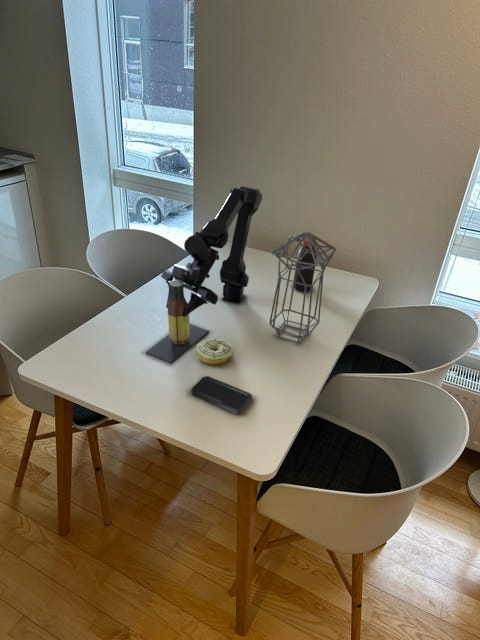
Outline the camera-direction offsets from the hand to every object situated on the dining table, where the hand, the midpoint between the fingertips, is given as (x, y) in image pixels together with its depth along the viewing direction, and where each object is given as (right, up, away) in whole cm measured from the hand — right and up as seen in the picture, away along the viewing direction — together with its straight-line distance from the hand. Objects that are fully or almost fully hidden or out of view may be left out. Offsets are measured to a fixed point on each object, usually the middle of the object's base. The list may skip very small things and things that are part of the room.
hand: (175, 312), depth 139 cm
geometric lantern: (+36, -7, +14) cm, 39 cm away
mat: (0, -9, +7) cm, 11 cm away
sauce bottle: (0, -9, +7) cm, 11 cm away
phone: (+14, -23, -13) cm, 30 cm away
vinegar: (+43, +10, +42) cm, 61 cm away
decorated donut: (+11, -13, +2) cm, 17 cm away
